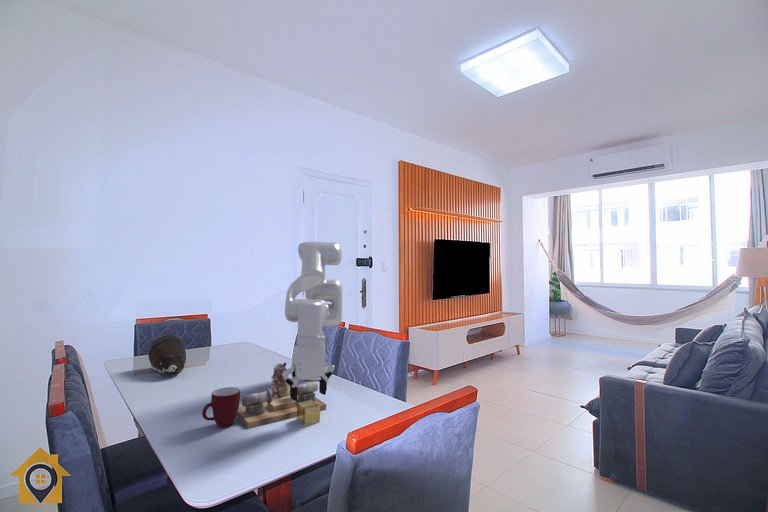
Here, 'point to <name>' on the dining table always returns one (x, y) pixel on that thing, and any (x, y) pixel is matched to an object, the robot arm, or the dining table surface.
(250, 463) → the dining table surface
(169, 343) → the clay pot
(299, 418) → the block
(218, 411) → the mug
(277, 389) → the figurine
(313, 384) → the shaft jig
